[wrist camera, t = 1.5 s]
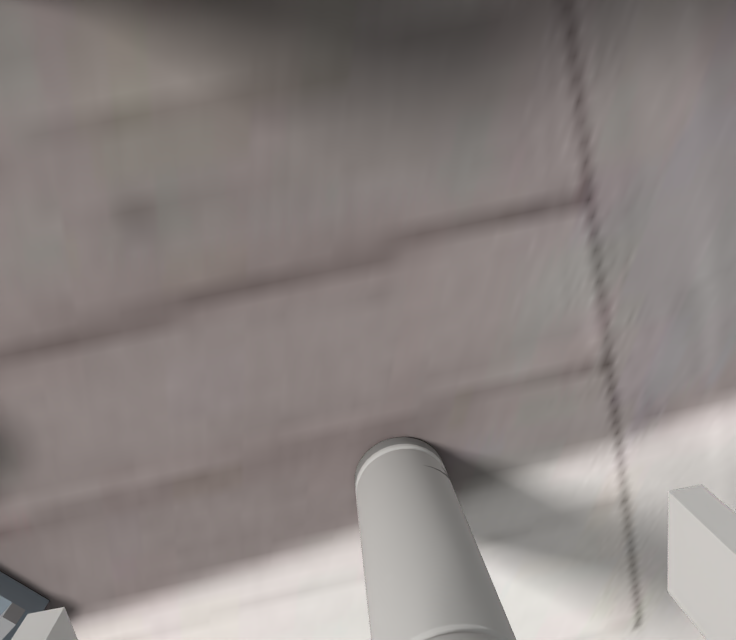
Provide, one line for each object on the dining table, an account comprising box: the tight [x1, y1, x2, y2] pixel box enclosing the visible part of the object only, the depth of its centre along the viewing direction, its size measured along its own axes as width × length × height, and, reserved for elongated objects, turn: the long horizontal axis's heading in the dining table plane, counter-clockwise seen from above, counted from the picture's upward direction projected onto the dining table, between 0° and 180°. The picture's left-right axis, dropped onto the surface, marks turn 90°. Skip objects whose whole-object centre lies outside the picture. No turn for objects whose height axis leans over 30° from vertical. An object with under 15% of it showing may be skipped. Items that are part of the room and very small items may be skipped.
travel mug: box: [355, 437, 516, 640], centre depth 28 cm, size 6×7×20 cm
